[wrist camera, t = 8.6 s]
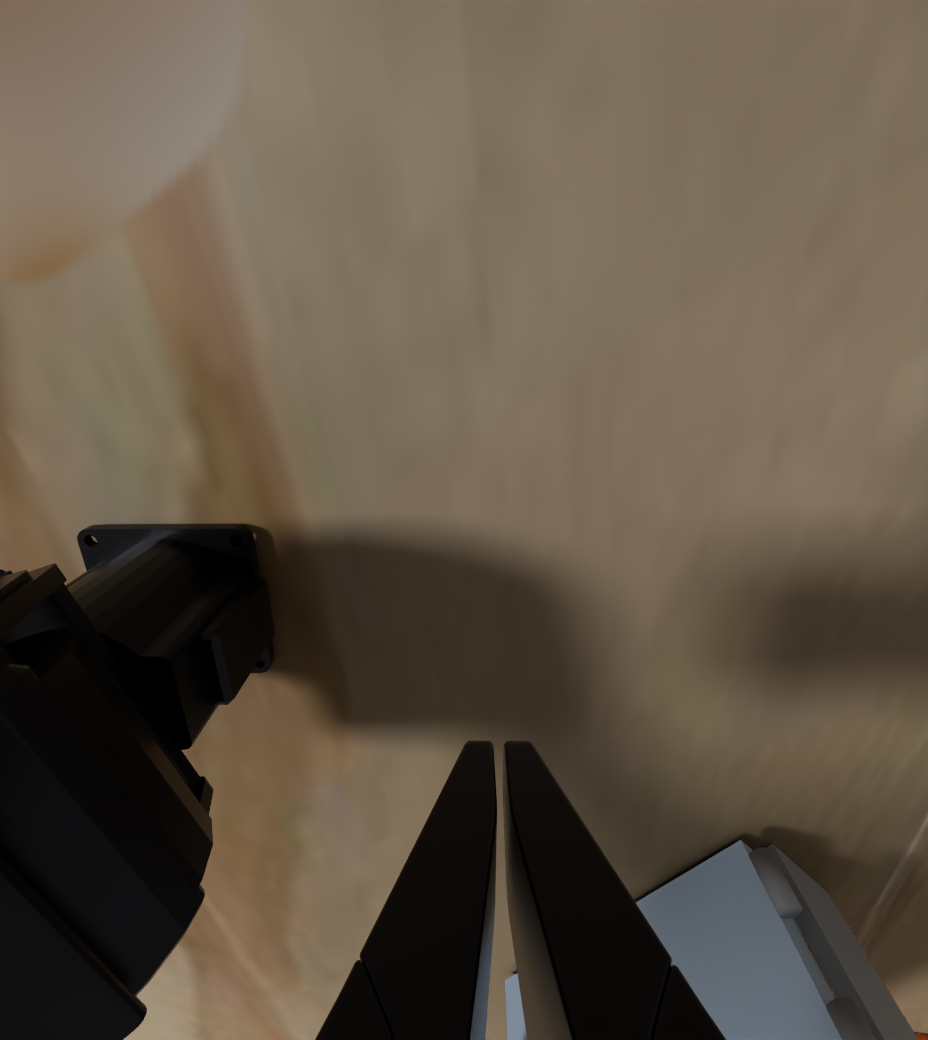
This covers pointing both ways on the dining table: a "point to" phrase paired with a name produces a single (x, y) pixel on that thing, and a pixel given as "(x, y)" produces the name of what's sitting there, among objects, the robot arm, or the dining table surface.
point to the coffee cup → (921, 1036)
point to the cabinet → (842, 955)
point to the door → (739, 953)
